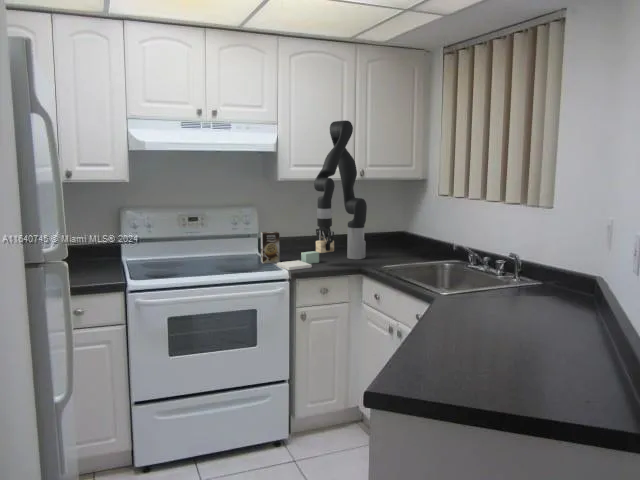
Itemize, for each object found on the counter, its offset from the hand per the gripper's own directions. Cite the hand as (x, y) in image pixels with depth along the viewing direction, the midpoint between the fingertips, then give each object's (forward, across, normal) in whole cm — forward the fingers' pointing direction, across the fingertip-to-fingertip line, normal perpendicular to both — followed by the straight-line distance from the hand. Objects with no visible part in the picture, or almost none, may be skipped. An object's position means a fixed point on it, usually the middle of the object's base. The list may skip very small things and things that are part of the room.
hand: (324, 249), depth 273 cm
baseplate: (+8, +4, +16) cm, 18 cm away
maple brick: (+1, 0, 0) cm, 1 cm away
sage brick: (+8, +9, +4) cm, 13 cm away
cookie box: (+8, +20, +22) cm, 31 cm away
